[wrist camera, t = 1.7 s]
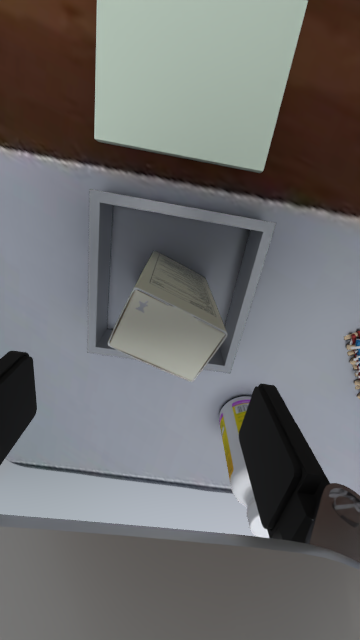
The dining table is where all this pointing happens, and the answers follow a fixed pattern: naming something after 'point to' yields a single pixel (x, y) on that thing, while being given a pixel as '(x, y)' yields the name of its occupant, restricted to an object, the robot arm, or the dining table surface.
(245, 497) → the supplement bottle
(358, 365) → the woven mat
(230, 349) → the bin
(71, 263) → the dining table surface
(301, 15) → the pad
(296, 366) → the dining table surface
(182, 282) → the skincare box
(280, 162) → the dining table surface
